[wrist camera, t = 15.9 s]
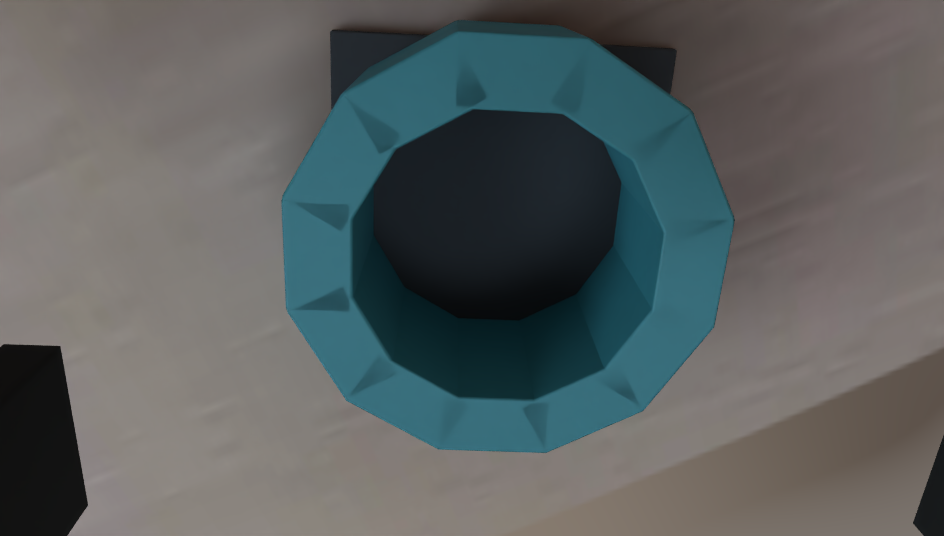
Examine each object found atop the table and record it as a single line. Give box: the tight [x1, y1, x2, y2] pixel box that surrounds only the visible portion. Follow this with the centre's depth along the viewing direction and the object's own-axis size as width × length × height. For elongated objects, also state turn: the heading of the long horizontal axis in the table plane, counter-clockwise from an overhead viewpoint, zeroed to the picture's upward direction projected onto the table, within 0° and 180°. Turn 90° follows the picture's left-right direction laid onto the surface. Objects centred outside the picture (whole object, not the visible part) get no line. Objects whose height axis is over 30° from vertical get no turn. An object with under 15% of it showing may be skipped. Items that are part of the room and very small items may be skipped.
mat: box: [330, 30, 677, 321], centre depth 23 cm, size 10×10×1 cm
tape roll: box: [281, 20, 735, 453], centre depth 20 cm, size 11×11×5 cm
